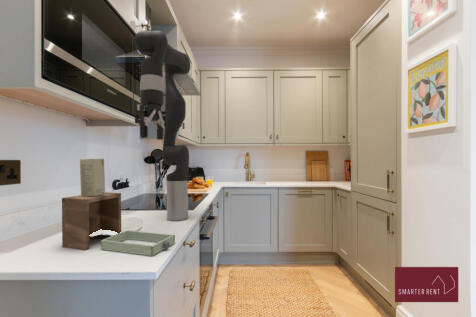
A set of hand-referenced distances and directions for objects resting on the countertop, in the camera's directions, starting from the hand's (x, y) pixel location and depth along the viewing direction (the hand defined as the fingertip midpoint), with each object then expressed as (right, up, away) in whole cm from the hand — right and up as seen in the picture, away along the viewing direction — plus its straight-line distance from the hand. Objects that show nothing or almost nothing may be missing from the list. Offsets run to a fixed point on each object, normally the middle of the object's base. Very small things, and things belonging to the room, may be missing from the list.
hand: (152, 138), depth 88 cm
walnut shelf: (-19, -34, -2) cm, 39 cm away
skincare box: (-19, -19, -2) cm, 27 cm away
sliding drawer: (-1, -34, -8) cm, 35 cm away
